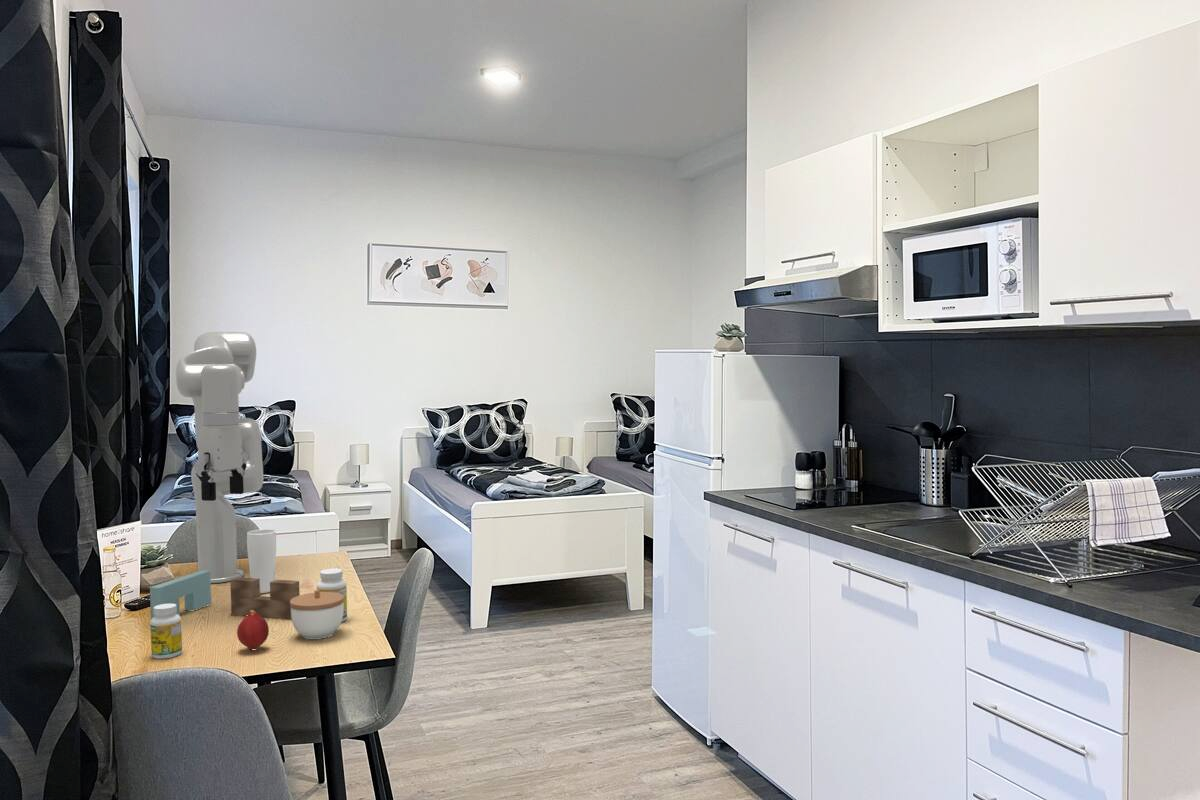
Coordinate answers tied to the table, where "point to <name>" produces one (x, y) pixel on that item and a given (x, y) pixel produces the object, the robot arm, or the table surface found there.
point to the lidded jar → (317, 613)
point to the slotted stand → (263, 597)
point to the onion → (253, 630)
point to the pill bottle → (334, 585)
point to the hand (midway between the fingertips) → (223, 497)
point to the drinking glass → (262, 556)
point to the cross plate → (183, 592)
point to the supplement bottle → (166, 632)
